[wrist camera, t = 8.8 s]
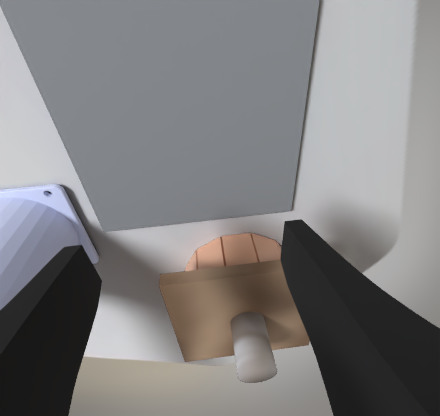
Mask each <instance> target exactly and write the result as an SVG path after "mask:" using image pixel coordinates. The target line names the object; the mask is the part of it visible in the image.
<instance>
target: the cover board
mask: <svg viewBox="0 0 440 416" xmlns="http://www.w3.org/2000/svg"><path fill="white" fill-rule="evenodd" d="M159 288H160V291H161V294H162V296H163V299H164V302H165V305H166V308H167V311H168V314H169V317H170V320H171V322H172V325H173V328H174V331H175V334H176V337H177V340H178V343H179V346H180V348H181V351H182V354H183V357H184V360H185V362H189V361H196V360H203V359H211V358H218V357H225V356H233V355H235V360H236V368H237V375H238V379H239V380H240V381H242V382H245V383H256V382H262V381H265V380H268V379H270V378H272V377H274V376H275V375H276V374H277V368H276V365H275V360H274V356H273V353H272V350H277V349H284V348H291V347H299V346H305V345H309V342H310V339H309V337H308V335H307V332H306V330H305V327H304V325H303V322H302V320H301V318H300V315H299V313H298V310H297V308H296V305H295V303H294V300H293V298H292V295H291V293H290V290H289V288H288V285H287V282H286V279H285V275H284V271H283V268H282V264H281V260H273V261H265V262H257V263H249V264H241V265H232V266H224V267H216V268H208V269H200V270H192V271H184V272H176V273H167V274H160V282H159Z"/></svg>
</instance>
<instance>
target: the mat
mask: <svg viewBox="0 0 440 416" xmlns="http://www.w3.org/2000/svg"><path fill="white" fill-rule="evenodd" d="M319 1H320V0H0V6H1V8H2V11H3V13H4V15H5V17H6V19H7V22H8V24H9V26H10V28H11V30H12V32H13V35H14V37H15V39H16V41H17V43H18V46H19V48H20V50H21V52H22V54H23V57H24V59H25V61H26V63H27V65H28V67H29V70H30V72H31V74H32V76H33V78H34V81H35V83H36V85H37V87H38V89H39V91H40V94H41V96H42V98H43V100H44V102H45V105H46V107H47V109H48V111H49V113H50V115H51V118H52V120H53V122H54V124H55V126H56V129H57V131H58V133H59V135H60V137H61V140H62V142H63V144H64V146H65V148H66V150H67V153H68V155H69V157H70V159H71V161H72V164H73V166H74V168H75V170H76V172H77V174H78V177H79V179H80V181H81V183H82V185H83V188H84V190H85V192H86V194H87V196H88V198H89V201H90V203H91V205H92V207H93V209H94V212H95V214H96V216H97V218H98V220H99V223H100V225H101V227H102V229H103V231H104V232H109V231H118V230H127V229H135V228H144V227H153V226H162V225H171V224H180V223H188V222H197V221H206V220H215V219H224V218H233V217H241V216H250V215H259V214H268V213H277V212H286V211H291V209H292V202H293V194H294V187H295V179H296V172H297V165H298V157H299V150H300V142H301V135H302V127H303V120H304V112H305V105H306V98H307V90H308V83H309V75H310V68H311V60H312V53H313V46H314V38H315V31H316V23H317V16H318V8H319Z"/></svg>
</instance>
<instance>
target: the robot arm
mask: <svg viewBox="0 0 440 416" xmlns="http://www.w3.org/2000/svg"><path fill="white" fill-rule="evenodd" d="M47 191H49V192H51V193H52V194H49V193H48V192H47ZM98 260H99V256H98V254H97V252H96V250H95V248H94V246H93V244H92V242H91V240H90V238H89V236H88V234H87V232H86V231H85V229H84V227H83V225H82V223H81V221H80V219H79V217H78V215H77V213H76V211H75V209H74V207H73V205H72V203H71V201H70V199H69V197H68V196H67V194H66V192H65V190H64V188H63V187H62V186H60V185H57V184H52V185H42V186H33V187H23V188H14V189H4V190H0V416H68V414H69V409H70V405H71V399H72V395H73V390H74V386H75V382H76V379H77V375H78V371H79V368H80V365H81V362H82V358H83V355H84V352H85V349H86V345H87V342H88V339H89V335H90V332H91V329H92V325H93V322H94V319H95V315H96V312H97V308H98V302H99V297H100V290H101V283H102V280H101V279H100V277H99V275H98V273H97V271H96V269H95V268H94V266H93V264H95V263H97V262H98ZM280 260H281V264H282V268H283V271H284V275H285V279H286V282H287V285H288V288H289V290H290V293H291V295H292V298H293V300H294V303H295V305H296V308H297V310H298V313H299V315H300V318H301V320H302V322H303V325H304V327H305V330H306V332H307V335H308V337H309V339H310V342H311V345H312V347H313V350H314V353H315V355H316V358H317V362H318V365H319V368H320V371H321V375H322V378H323V381H324V384H325V388H326V391H327V395H328V398H329V401H330V405H331V408H332V412H333V415H334V416H440V328H438V327H436V326H435V325H433V324H431V323H430V322H428V321H427V320H425V319H424V318H422V317H421V316H419V315H418V314H416V313H415V312H413V311H412V310H410V309H409V308H407V307H406V306H405V305H403V304H402V303H400V302H399V301H397V300H396V299H395V298H393V297H392V296H390V295H389V294H387V293H386V292H385V291H383V290H382V289H381V288H379V287H378V286H377V285H376V284H374V283H373V282H372V281H370V280H369V279H368V278H367V277H365V276H364V275H363V274H362V273H360V272H359V271H358V270H357V269H356V268H354V267H353V266H352V265H351V264H350V263H349V262H347V261H346V260H345V259H344V258H343V257H342V256H341V255H339V254H338V253H337V252H336V251H335V250H334V249H333V248H332V247H330V246H329V245H328V244H327V243H326V242H325V241H324V240H323V239H322V238H321V237H320V236H319V235H318V234H317V233H315V232H314V231H313V230H312V229H311V228H310V227H309V226H308V225H307V224H306V223H305V222H304V221H303V220H293V221H285V224H284V233H283V241H282V249H281V258H280Z"/></svg>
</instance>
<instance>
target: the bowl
mask: <svg viewBox="0 0 440 416" xmlns="http://www.w3.org/2000/svg"><path fill="white" fill-rule="evenodd" d="M281 249H282V248H281V246H280V245H279V244H278V243H277V241H275V240H273V239H270V238H266V237H263V236H260V235H257V234H253V233H251V235H250V233H244V234H236V235H227V236H222V238H221V237H218V238H217V239H215V240H213V241H211V242H209V243H208V244H206V245H204V246H202V247H200V248H199V249H197V251H195V253H194V254H193V256H192V257H191V259H190V261H189V262H188V264H187V266H186V267H185V271H192V270H200V269H208V268H216V267H224V266H232V265H241V264H249V263H257V262H265V261H273V260H280V258H281Z"/></svg>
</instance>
